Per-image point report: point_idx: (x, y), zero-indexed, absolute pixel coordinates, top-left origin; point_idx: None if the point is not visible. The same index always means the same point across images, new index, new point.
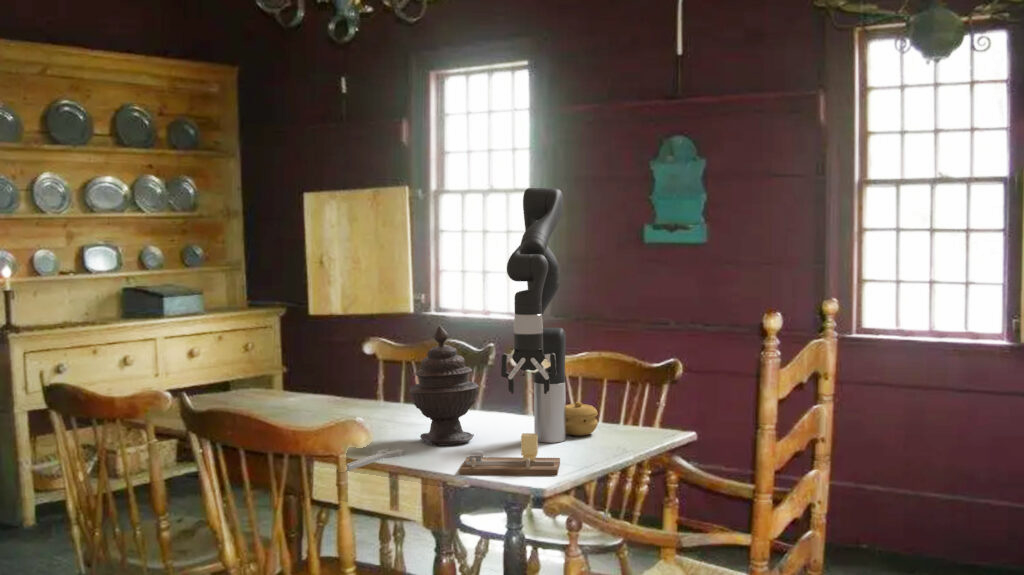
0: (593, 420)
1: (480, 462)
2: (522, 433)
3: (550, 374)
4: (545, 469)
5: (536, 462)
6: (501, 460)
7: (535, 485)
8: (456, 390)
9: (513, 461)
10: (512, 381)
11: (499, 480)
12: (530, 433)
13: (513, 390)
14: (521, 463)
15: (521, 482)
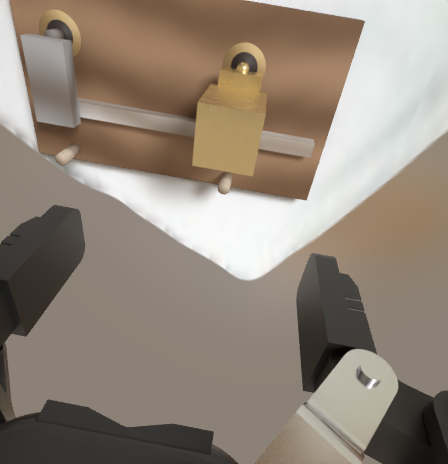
0: None
1: (82, 115)
2: (197, 106)
3: (383, 449)
4: (274, 193)
5: None
6: (141, 46)
7: (238, 265)
8: None
9: (182, 133)
10: (25, 323)
11: (158, 216)
12: (233, 110)
13: (72, 269)
14: None
15: (208, 239)
